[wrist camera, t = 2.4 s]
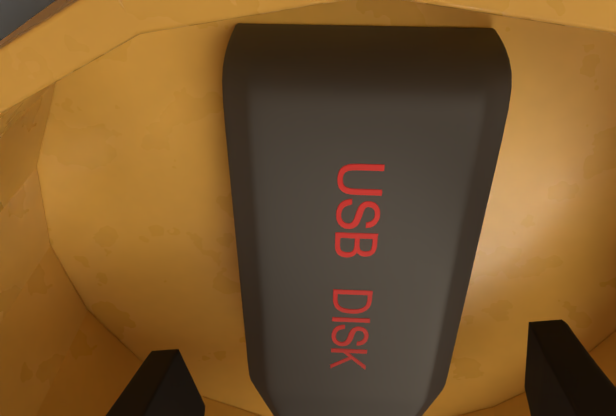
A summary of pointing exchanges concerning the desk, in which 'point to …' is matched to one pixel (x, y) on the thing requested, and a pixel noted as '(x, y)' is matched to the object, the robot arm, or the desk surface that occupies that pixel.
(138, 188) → the tin
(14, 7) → the desk surface
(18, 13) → the desk surface
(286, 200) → the usb drive
